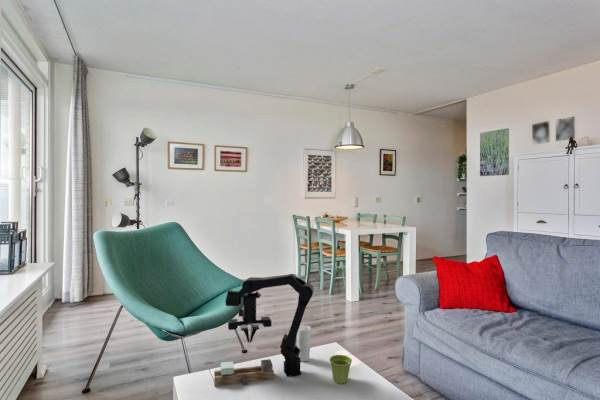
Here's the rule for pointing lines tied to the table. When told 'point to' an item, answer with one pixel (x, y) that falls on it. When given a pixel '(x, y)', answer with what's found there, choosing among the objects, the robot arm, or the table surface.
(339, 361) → the plant pot
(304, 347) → the drinking glass
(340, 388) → the table surface
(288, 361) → the robot arm
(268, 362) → the beam
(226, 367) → the block
